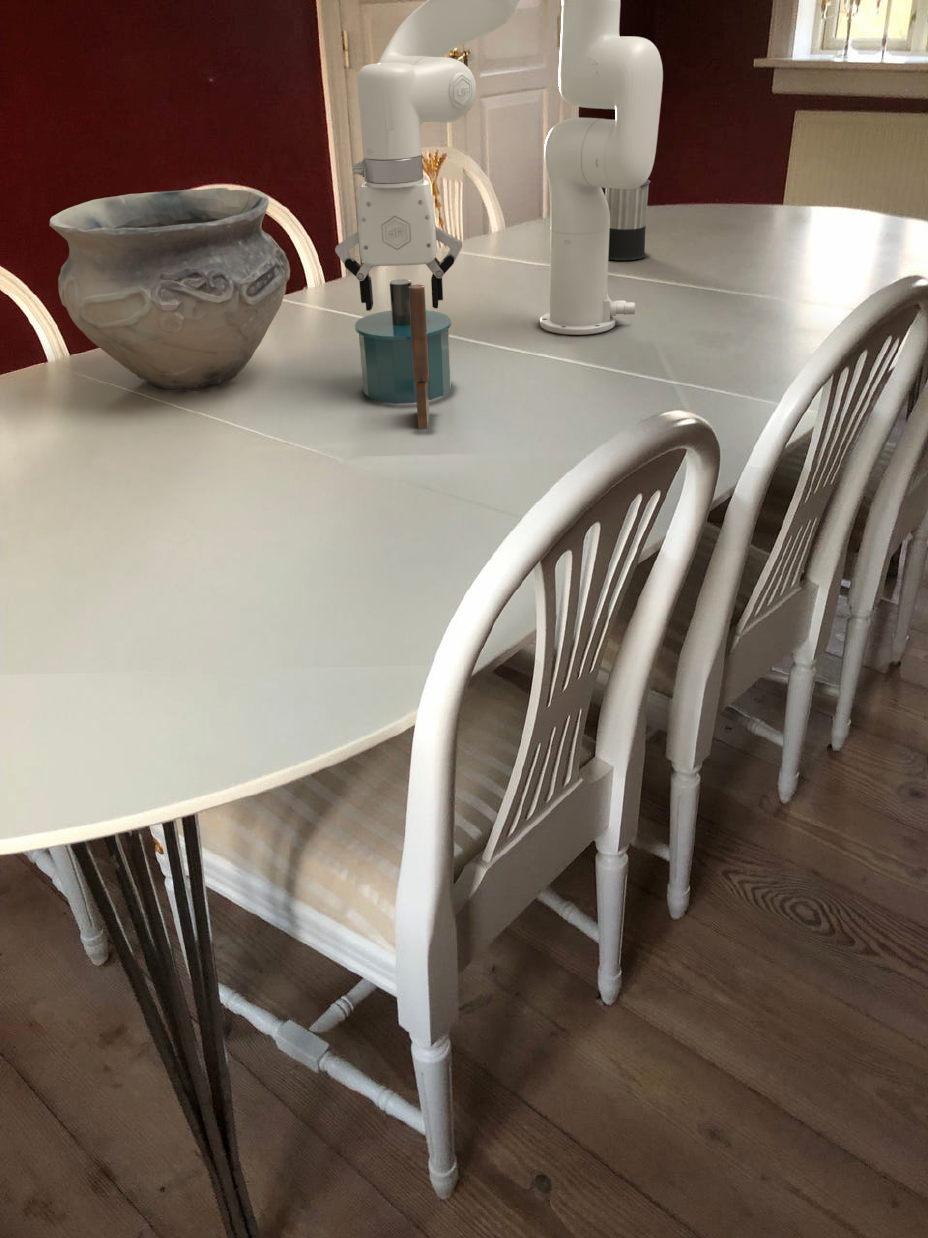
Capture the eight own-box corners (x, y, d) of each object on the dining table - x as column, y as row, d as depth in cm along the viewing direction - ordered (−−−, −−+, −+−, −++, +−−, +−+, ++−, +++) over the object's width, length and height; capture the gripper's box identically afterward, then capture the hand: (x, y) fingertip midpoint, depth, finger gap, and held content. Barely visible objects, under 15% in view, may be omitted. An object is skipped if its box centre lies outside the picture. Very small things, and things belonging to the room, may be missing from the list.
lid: (452, 315, 150) (450, 268, 146) (450, 342, 138) (448, 292, 135) (360, 318, 150) (356, 271, 147) (350, 345, 139) (346, 295, 135)
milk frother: (653, 253, 217) (657, 178, 210) (621, 270, 206) (624, 190, 199) (592, 248, 224) (594, 174, 216) (558, 263, 213) (559, 186, 205)
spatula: (432, 415, 140) (425, 280, 131) (430, 432, 135) (423, 292, 126) (417, 416, 140) (409, 280, 131) (415, 432, 135) (407, 292, 126)
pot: (451, 376, 154) (449, 312, 149) (449, 405, 143) (447, 337, 138) (368, 378, 154) (363, 314, 149) (360, 408, 144) (354, 340, 139)
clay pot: (193, 432, 138) (158, 236, 125) (34, 395, 153) (-12, 217, 140) (345, 361, 162) (329, 190, 149) (195, 335, 177) (168, 178, 164)
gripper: (323, 178, 131) (336, 316, 140) (460, 173, 130) (465, 312, 139) (330, 169, 137) (342, 301, 146) (461, 164, 136) (465, 297, 146)
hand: (402, 306), depth 143 cm, fingers open, 8 cm apart
